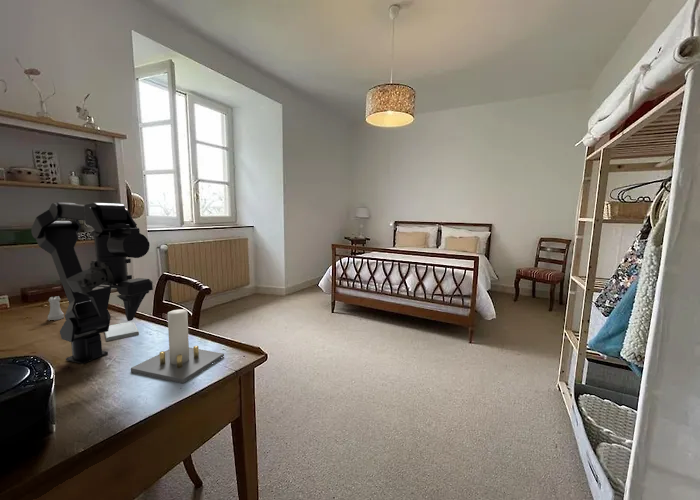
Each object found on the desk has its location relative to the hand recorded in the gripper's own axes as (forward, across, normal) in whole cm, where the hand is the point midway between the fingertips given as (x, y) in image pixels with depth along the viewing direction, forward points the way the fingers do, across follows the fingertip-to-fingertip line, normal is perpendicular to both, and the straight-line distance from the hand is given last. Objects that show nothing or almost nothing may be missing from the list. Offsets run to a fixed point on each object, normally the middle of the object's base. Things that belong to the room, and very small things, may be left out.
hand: (116, 318), depth 75 cm
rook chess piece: (+12, -57, +18) cm, 61 cm away
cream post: (+12, +12, +7) cm, 18 cm away
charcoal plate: (+13, +12, +7) cm, 19 cm away
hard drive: (+13, -24, +17) cm, 32 cm away
